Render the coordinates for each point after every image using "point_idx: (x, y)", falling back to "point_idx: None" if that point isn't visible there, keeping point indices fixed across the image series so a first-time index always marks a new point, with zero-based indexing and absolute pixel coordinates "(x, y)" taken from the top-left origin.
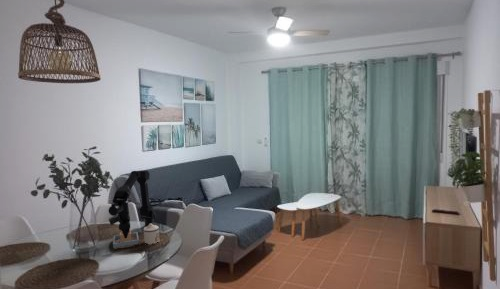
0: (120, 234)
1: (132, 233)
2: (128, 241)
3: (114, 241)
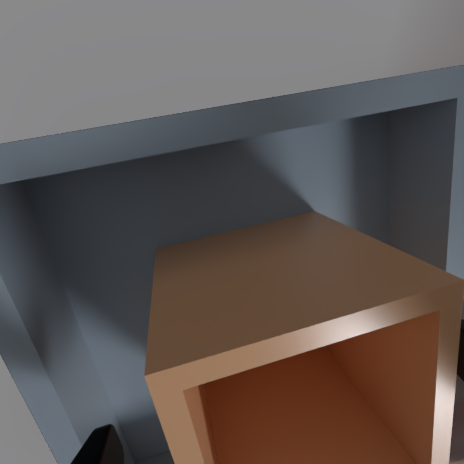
0: (197, 373)
1: None
2: (60, 448)
3: (110, 157)
